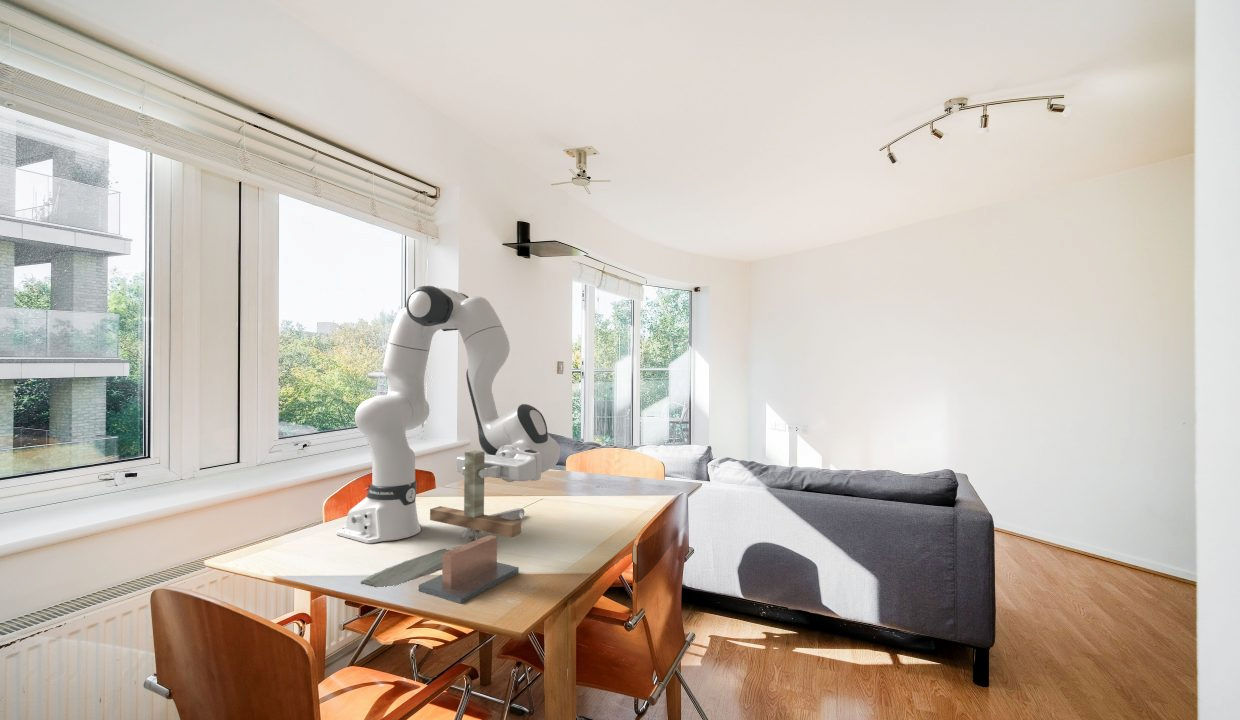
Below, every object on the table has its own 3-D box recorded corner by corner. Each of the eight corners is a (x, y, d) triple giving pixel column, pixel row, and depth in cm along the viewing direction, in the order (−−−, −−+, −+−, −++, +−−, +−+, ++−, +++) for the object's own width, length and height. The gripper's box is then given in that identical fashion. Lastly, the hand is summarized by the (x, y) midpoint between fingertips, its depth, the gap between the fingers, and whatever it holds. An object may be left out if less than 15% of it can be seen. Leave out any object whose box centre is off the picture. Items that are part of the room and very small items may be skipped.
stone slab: (466, 565, 132) (438, 552, 137) (467, 554, 132) (439, 542, 137) (385, 601, 113) (356, 584, 118) (386, 588, 112) (357, 572, 117)
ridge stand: (418, 590, 113) (419, 552, 113) (479, 562, 129) (479, 529, 129) (460, 603, 108) (460, 563, 108) (518, 572, 123) (518, 537, 123)
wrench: (523, 526, 168) (461, 545, 140) (518, 525, 168) (455, 544, 141) (525, 500, 168) (464, 513, 141) (520, 499, 169) (458, 512, 142)
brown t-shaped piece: (430, 520, 124) (430, 448, 124) (440, 516, 126) (440, 446, 126) (511, 537, 112) (512, 458, 112) (521, 533, 115) (521, 456, 115)
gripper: (480, 445, 136) (437, 454, 123) (546, 453, 126) (507, 463, 114) (480, 470, 136) (437, 481, 123) (546, 480, 126) (506, 492, 114)
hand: (471, 472), depth 118 cm, fingers closed on brown t-shaped piece, 3 cm apart
